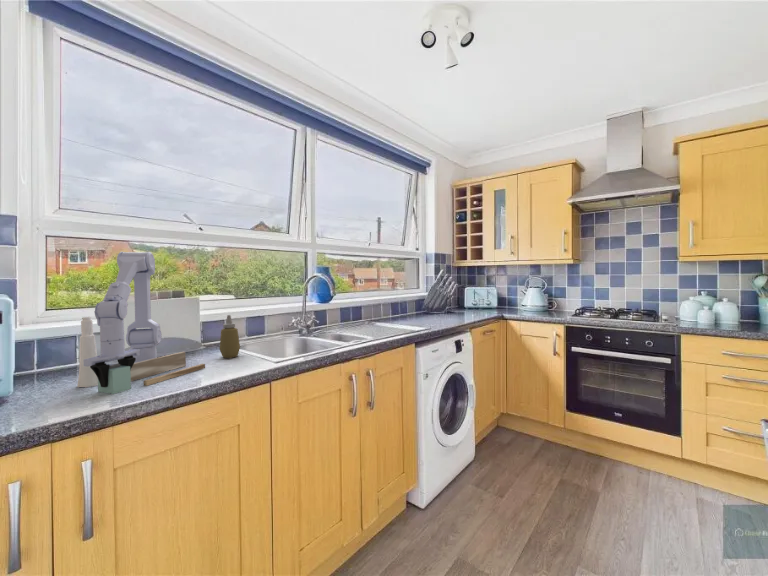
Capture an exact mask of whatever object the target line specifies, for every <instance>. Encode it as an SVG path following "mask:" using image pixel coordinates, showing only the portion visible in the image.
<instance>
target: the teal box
mask: <svg viewBox="0 0 768 576" xmlns="http://www.w3.org/2000/svg"><path fill="white" fill-rule="evenodd" d="M109 365H110V367H109V371H108V387H101V385H100V382H99V380H98V385H97V388H98V389H97V390H98V392H99V393H103V392H104V394H110V393H111V394H110V395H115V393H116V394H118V392H119V393H122V392H125V391H128V389H129V390H131V389H132V381H131V373H130V366H122V365H120V364H119V363H115V364H112V365H111V364H109ZM121 391H122V392H121Z"/></svg>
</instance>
